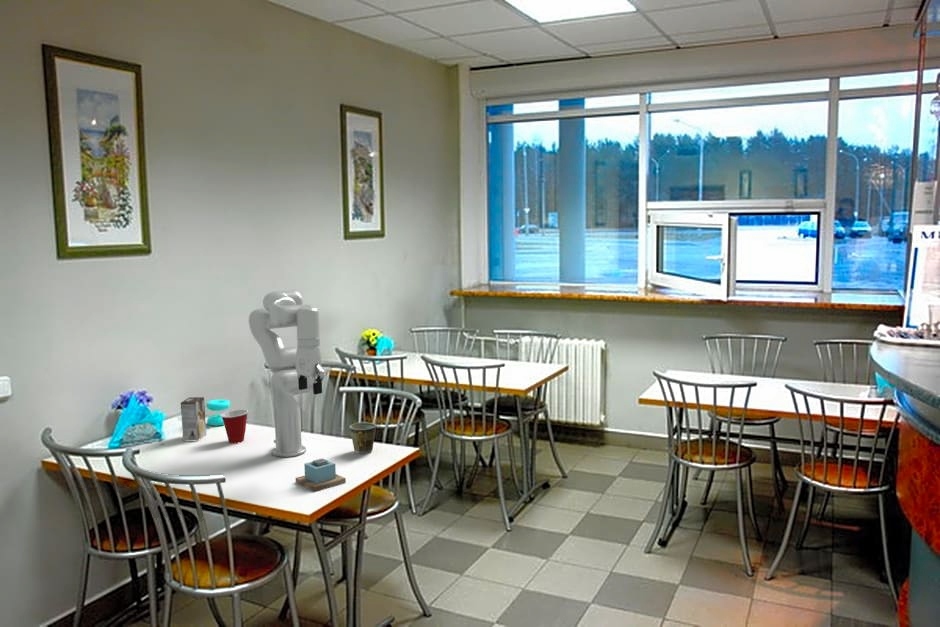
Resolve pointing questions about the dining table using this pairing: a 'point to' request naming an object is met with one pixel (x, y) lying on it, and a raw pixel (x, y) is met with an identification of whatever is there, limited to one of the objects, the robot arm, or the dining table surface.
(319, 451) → the dining table surface
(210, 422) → the donuts
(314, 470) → the blue hollow block
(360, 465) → the dining table surface
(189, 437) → the coffee box
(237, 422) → the plastic cup
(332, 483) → the post base
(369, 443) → the ceramic cup
